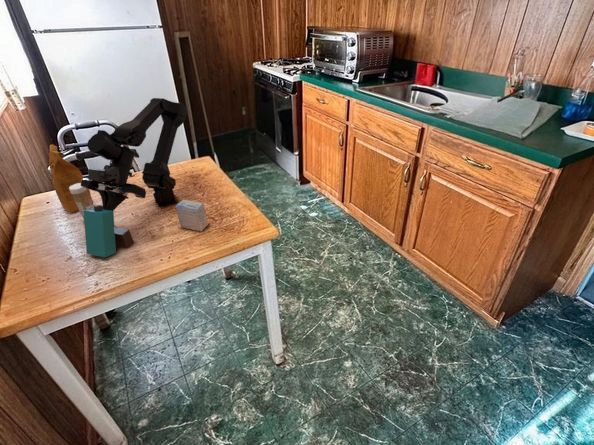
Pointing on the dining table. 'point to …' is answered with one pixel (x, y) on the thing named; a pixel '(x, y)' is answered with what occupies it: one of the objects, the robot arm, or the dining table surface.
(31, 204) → the dining table surface
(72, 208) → the coffee package
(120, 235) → the walnut block
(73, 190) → the sprinkles bottle
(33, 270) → the dining table surface
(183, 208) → the medicine box
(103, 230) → the plastic bottle
